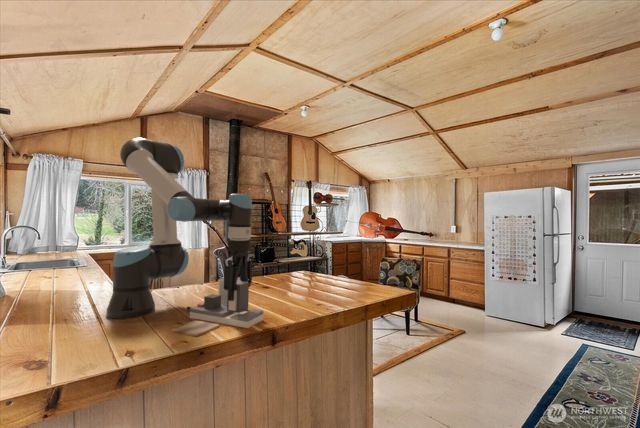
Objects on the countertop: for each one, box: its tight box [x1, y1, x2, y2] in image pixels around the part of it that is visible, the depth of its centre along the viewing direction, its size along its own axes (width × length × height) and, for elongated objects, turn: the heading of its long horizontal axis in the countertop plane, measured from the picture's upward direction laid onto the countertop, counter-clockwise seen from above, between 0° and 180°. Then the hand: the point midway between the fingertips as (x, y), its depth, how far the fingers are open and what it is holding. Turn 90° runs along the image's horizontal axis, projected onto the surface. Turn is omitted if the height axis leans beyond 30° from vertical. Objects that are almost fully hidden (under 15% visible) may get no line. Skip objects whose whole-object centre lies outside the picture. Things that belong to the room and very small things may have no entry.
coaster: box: [171, 319, 221, 338], centre depth 102 cm, size 10×10×1 cm
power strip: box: [189, 293, 264, 329], centre depth 112 cm, size 24×9×7 cm, turn 67°
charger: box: [227, 280, 250, 313], centre depth 111 cm, size 5×5×9 cm
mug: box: [217, 277, 241, 305], centre depth 127 cm, size 12×9×11 cm
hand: (237, 307), depth 111 cm, fingers closed on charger, 5 cm apart
